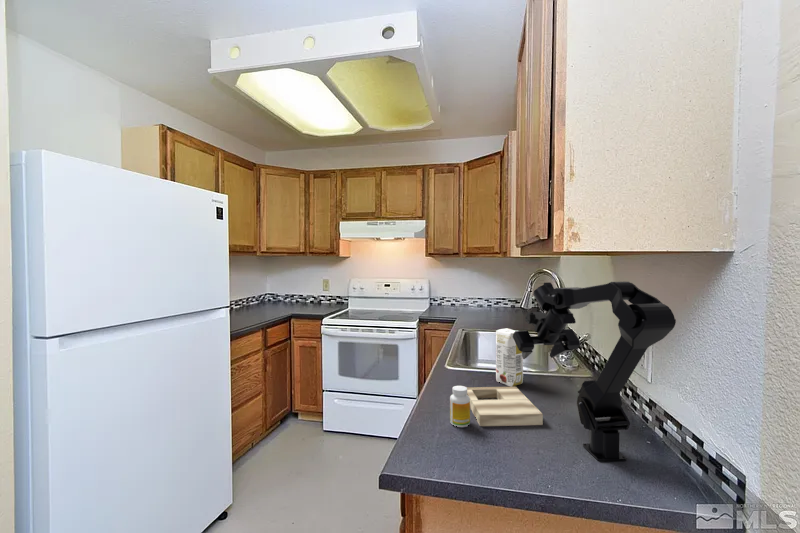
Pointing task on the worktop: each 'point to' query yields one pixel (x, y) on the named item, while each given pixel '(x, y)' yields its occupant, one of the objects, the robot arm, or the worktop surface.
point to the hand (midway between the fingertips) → (537, 357)
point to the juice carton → (508, 359)
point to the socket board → (502, 407)
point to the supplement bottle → (460, 407)
